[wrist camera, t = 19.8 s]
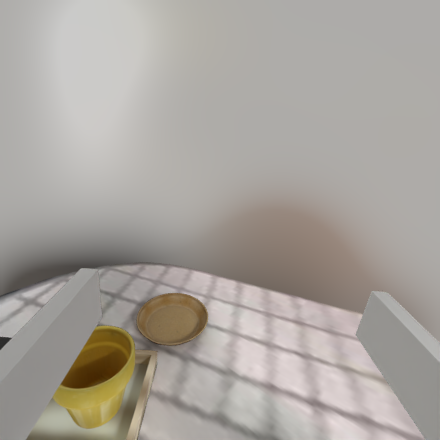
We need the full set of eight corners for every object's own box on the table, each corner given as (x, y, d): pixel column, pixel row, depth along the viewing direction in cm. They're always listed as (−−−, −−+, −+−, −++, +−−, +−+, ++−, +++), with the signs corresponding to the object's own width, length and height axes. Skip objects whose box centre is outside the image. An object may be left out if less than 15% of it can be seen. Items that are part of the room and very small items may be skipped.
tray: (128, 471, 30) (127, 457, 29) (4, 466, 29) (-1, 450, 28) (157, 363, 43) (157, 351, 42) (73, 358, 43) (71, 345, 42)
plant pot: (122, 359, 43) (119, 314, 39) (147, 410, 36) (147, 361, 32) (51, 395, 36) (41, 345, 33) (65, 466, 29) (53, 412, 26)
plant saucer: (221, 326, 53) (222, 316, 52) (165, 369, 43) (165, 358, 42) (178, 293, 62) (178, 285, 61) (123, 322, 52) (122, 313, 51)
